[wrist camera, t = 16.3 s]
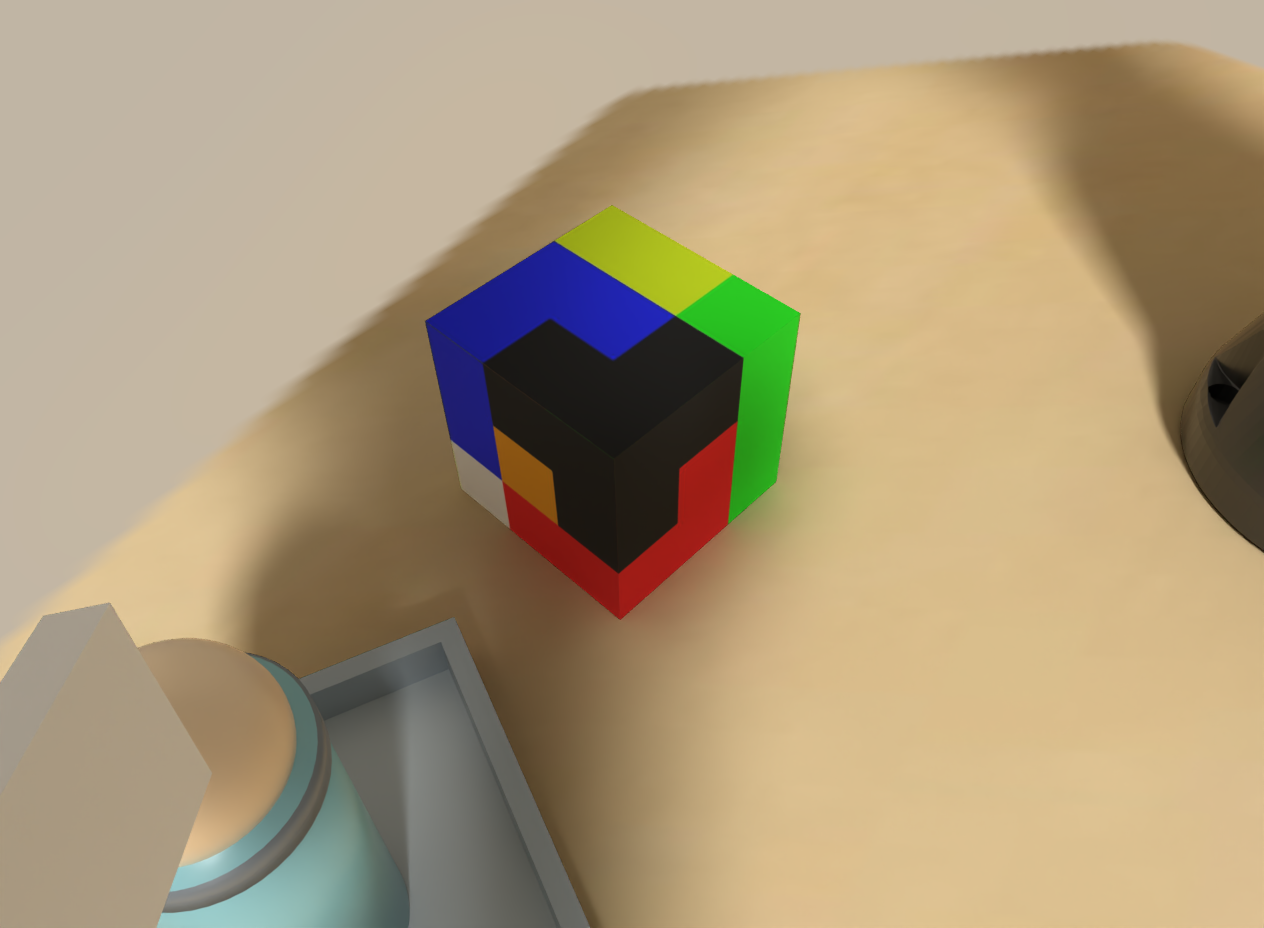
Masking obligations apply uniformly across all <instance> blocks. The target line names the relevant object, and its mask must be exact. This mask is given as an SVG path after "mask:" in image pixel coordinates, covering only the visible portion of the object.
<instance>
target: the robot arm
mask: <svg viewBox="0 0 1264 928" xmlns="http://www.w3.org/2000/svg"><path fill="white" fill-rule="evenodd" d="M1181 441H1182V446H1183V451H1184V454H1185V457H1186V460H1187V462H1188V465H1189V467H1190V470H1191V472H1192V474H1193V476H1194V478H1195V479H1196V481H1197V483H1198V484H1199V486H1200V488H1201V489H1202V491H1203V492H1204V493H1205V495H1206V496H1207V498H1208V499H1209V500H1210V501H1211V503H1212V504H1213V505H1214V506H1215V508H1216V509H1217V510H1218V511H1219V512H1220V513H1221V514H1222V515H1223V516H1224V517H1225V518H1226V519H1227V520H1228V521H1229V522H1230V523H1231V524H1232V525H1233V526H1234V527H1235V528H1236V529H1237V530H1238V531H1239V532H1241V533H1242V534H1243V535H1244V536H1245V537H1246V538H1248V539H1249V540H1250V541H1252V542H1253V543H1254V544H1255V545H1257V546H1258V547H1259V548H1261V549H1262V550H1264V313H1263V314H1261V315H1260V316H1259V317H1258V318H1256V319H1255V320H1254V321H1253V322H1251V323H1250V324H1249V325H1248V326H1247V327H1245V328H1244V329H1243V330H1242V331H1240V332H1239V333H1238V334H1237V335H1235V336H1234V337H1233V338H1232V339H1231V340H1229V341H1228V342H1227V343H1226V344H1225V345H1223V346H1222V347H1221V348H1220V349H1219V350H1218V351H1217V352H1216V354H1215V355H1214V356H1213V357H1212V358H1211V359H1210V361H1209V362H1208V364H1207V365H1206V366H1205V368H1204V370H1203V372H1202V373H1201V375H1200V377H1199V379H1198V381H1197V382H1196V384H1195V386H1194V388H1193V390H1192V391H1191V393H1190V395H1189V397H1188V399H1187V401H1186V403H1185V406H1184V409H1183V412H1182V417H1181ZM211 775H212V772H211V770H210V769H209V767H208V765H207V764H206V762H205V760H204V759H203V757H202V755H201V754H200V752H199V750H198V749H197V747H196V745H195V744H194V742H193V740H192V739H191V737H190V735H189V734H188V732H187V730H186V729H185V727H184V725H183V724H182V722H181V720H180V719H179V717H178V715H177V714H176V712H175V710H174V709H173V707H172V705H171V704H170V702H169V700H168V699H167V697H166V695H165V694H164V692H163V690H162V689H161V687H160V685H159V684H158V682H157V680H156V679H155V677H154V675H153V674H152V672H151V670H150V669H149V667H148V665H147V663H146V662H145V660H144V658H143V657H142V655H141V653H140V652H139V650H138V648H137V647H136V645H135V643H134V642H133V640H132V638H131V637H130V635H129V633H128V632H127V630H126V628H125V627H124V625H123V623H122V622H121V620H120V618H119V617H118V615H117V613H116V612H115V610H114V608H113V607H112V605H111V603H106V604H101V605H96V606H91V607H86V608H81V609H76V610H71V611H66V612H60V613H55V614H50V615H45V616H43V617H42V619H41V620H40V622H39V623H38V625H37V626H36V628H35V629H34V631H33V633H32V634H31V636H30V637H29V639H28V640H27V642H26V643H25V645H24V647H23V648H22V650H21V651H20V653H19V654H18V656H17V657H16V659H15V661H14V662H13V664H12V665H11V667H10V668H9V670H8V671H7V673H6V675H5V676H4V678H3V679H2V681H1V682H0V928H156V927H157V925H158V922H159V919H160V916H161V914H162V911H163V908H164V905H165V903H166V900H167V897H168V894H169V891H170V889H171V886H172V883H173V880H174V878H175V875H176V872H177V869H178V867H179V864H180V861H181V858H182V855H183V853H184V850H185V847H186V844H187V842H188V839H189V836H190V833H191V830H192V828H193V825H194V822H195V819H196V817H197V814H198V811H199V808H200V806H201V803H202V800H203V797H204V794H205V792H206V789H207V786H208V783H209V781H210V778H211Z"/></svg>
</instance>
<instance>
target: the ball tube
mask: <svg viewBox="0 0 1264 928" xmlns="http://www.w3.org/2000/svg"><path fill="white" fill-rule="evenodd" d="M138 650H139V652H140V653H141V655H142V657H143V658H144V660H145V662H146V663H147V665H148V667H149V669H150V670H151V672H152V674H153V675H154V677H155V679H156V680H157V682H158V684H159V685H160V687H161V689H162V690H163V692H164V694H165V695H166V697H167V699H168V700H169V702H170V704H171V705H172V707H173V709H174V710H175V712H176V714H177V715H178V717H179V719H180V720H181V722H182V724H183V725H184V727H185V729H186V730H187V732H188V734H189V735H190V737H191V739H192V740H193V742H194V744H195V745H196V747H197V749H198V750H199V752H200V754H201V755H202V757H203V759H204V760H205V762H206V764H207V765H208V767H209V769H210V770H211V772H212V775H211V778H210V781H209V783H208V786H207V789H206V792H205V794H204V797H203V800H202V803H201V806H200V808H199V811H198V814H197V817H196V819H195V822H194V825H193V828H192V830H191V833H190V836H189V839H188V842H187V844H186V847H185V850H184V853H183V855H182V858H181V861H180V864H179V867H178V869H177V872H176V875H175V878H174V880H173V883H172V886H171V889H170V891H169V894H168V897H167V900H166V903H165V905H164V908H163V911H162V914H161V916H160V919H159V922H158V925H157V927H156V928H408V925H409V898H408V893H407V889H406V885H405V882H404V880H403V877H402V875H401V873H400V871H399V869H398V867H397V865H396V864H395V862H394V860H393V858H392V856H391V854H390V852H389V850H388V849H387V847H386V845H385V843H384V841H383V839H382V837H381V835H380V834H379V832H378V830H377V828H376V826H375V824H374V822H373V820H372V819H371V817H370V815H369V813H368V811H367V809H366V807H365V805H364V804H363V802H362V800H361V798H360V796H359V794H358V792H357V790H356V789H355V787H354V785H353V783H352V781H351V779H350V777H349V775H348V774H347V772H346V770H345V768H344V766H343V764H342V762H341V760H340V758H339V757H338V755H337V753H336V751H335V749H334V747H333V745H332V743H331V742H330V738H329V733H328V730H327V728H326V725H325V722H324V720H323V718H322V716H321V714H320V712H319V710H318V708H317V706H316V704H315V702H314V701H313V699H312V697H311V695H310V694H309V692H308V690H307V689H306V687H305V686H304V685H303V684H302V683H301V681H300V680H299V679H298V678H297V677H296V676H295V675H294V674H292V673H291V672H290V671H289V670H288V669H286V668H284V667H283V666H281V665H280V664H278V663H276V662H274V661H272V660H269V659H267V658H265V657H262V656H258V655H254V654H251V653H245V652H242V651H240V650H238V649H236V648H234V647H231V646H229V645H227V644H223V643H219V642H216V641H211V640H205V639H197V638H181V639H171V640H163V641H159V642H154V643H151V644H147V645H144V646H141V647H139V648H138Z"/></svg>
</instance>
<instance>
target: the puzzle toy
mask: <svg viewBox="0 0 1264 928" xmlns="http://www.w3.org/2000/svg"><path fill="white" fill-rule="evenodd" d="M800 314H801V313H799V312H797V311H796V310H794V309H792V308H790V307H789V306H787V305H785V304H783V303H782V302H780V301H778V300H776V299H775V298H773V297H771V296H769V295H768V294H766V293H764V292H762V291H761V290H759V289H757V288H755V287H754V286H752V285H750V284H749V283H747V282H745V281H743V280H742V279H740V278H738V277H736V276H735V275H733V274H731V273H729V272H728V271H726V270H724V269H722V268H721V267H719V266H717V265H715V264H714V263H712V262H710V261H708V260H707V259H705V258H703V257H701V256H700V255H698V254H696V253H695V252H693V251H691V250H689V249H688V248H686V247H684V246H682V245H681V244H679V243H677V242H675V241H674V240H672V239H670V238H668V237H667V236H665V235H663V234H661V233H660V232H658V231H656V230H654V229H653V228H651V227H649V226H648V225H646V224H644V223H642V222H641V221H639V220H637V219H635V218H634V217H632V216H630V215H628V214H627V213H625V212H623V211H621V210H620V209H618V208H616V207H614V206H613V205H611V206H610V207H608V208H606V209H605V210H603V211H602V212H600V213H598V214H597V215H595V216H594V217H592V218H590V219H589V220H587V221H586V222H584V223H582V224H581V225H579V226H577V227H576V228H574V229H573V230H571V231H569V232H568V233H566V234H565V235H563V236H561V237H560V238H558V239H557V240H555V241H553V242H552V243H550V244H548V245H547V246H545V247H544V248H542V249H540V250H539V251H537V252H536V253H534V254H532V255H531V256H529V257H528V258H526V259H524V260H523V261H521V262H519V263H518V264H516V265H515V266H513V267H511V268H510V269H508V270H507V271H505V272H503V273H502V274H500V275H499V276H497V277H495V278H494V279H492V280H491V281H489V282H487V283H486V284H484V285H482V286H481V287H479V288H478V289H476V290H474V291H473V292H471V293H470V294H468V295H466V296H465V297H463V298H462V299H460V300H458V301H457V302H455V303H453V304H452V305H450V306H449V307H447V308H445V309H444V310H442V311H441V312H439V313H437V314H436V315H434V316H433V317H431V318H429V319H428V320H426V321H425V323H426V328H427V333H428V337H429V342H430V347H431V351H432V356H433V361H434V365H435V370H436V375H437V379H438V384H439V389H440V393H441V398H442V403H443V407H444V412H445V417H446V421H447V426H448V431H449V435H450V440H451V445H452V449H453V454H454V459H455V463H456V468H457V473H458V477H459V482H460V487H461V489H462V490H463V491H465V492H466V493H467V494H468V495H469V496H471V497H472V498H473V499H474V500H475V501H477V502H478V503H479V504H480V505H482V506H483V507H484V508H485V509H486V510H488V511H489V512H490V513H491V514H492V515H494V516H495V517H496V518H497V519H498V520H500V521H501V522H502V523H503V524H505V525H506V526H507V527H508V528H509V529H511V530H512V531H513V532H514V533H515V534H517V535H518V536H519V537H520V538H522V539H523V540H524V541H525V542H526V543H528V544H529V545H530V546H531V547H532V548H534V549H535V550H536V551H537V552H538V553H540V554H541V555H542V556H543V557H545V558H546V559H547V560H548V561H549V562H551V563H552V564H553V565H554V566H555V567H557V568H558V569H559V570H560V571H562V572H563V573H564V574H565V575H566V576H568V577H569V578H570V579H571V580H572V581H574V582H575V583H576V584H577V585H578V586H580V587H581V588H582V589H583V590H585V591H586V592H587V593H588V594H589V595H591V596H592V597H593V598H594V599H595V600H597V601H598V602H599V603H600V604H602V605H603V606H604V607H605V608H606V609H608V610H609V611H610V612H611V613H612V614H614V615H615V616H616V617H617V618H618V619H620V620H621V619H622V618H623V617H624V616H625V615H626V614H627V613H628V612H630V611H631V610H632V609H633V608H634V607H635V606H636V605H638V604H639V603H640V602H641V601H642V600H643V599H644V598H645V597H647V596H648V595H649V594H650V593H651V592H652V591H653V590H654V589H656V588H657V587H658V586H659V585H660V584H661V583H662V582H663V581H665V580H666V579H667V578H668V577H669V576H670V575H671V574H673V573H674V572H675V571H676V570H677V569H678V568H679V567H680V566H682V565H683V564H684V563H685V562H686V561H687V560H688V559H689V558H691V557H692V556H693V555H694V554H695V553H696V552H697V551H698V550H700V549H701V548H702V547H703V546H704V545H705V544H706V543H708V542H709V541H710V540H711V539H712V538H713V537H714V536H715V535H717V534H718V533H719V532H720V531H721V530H722V529H723V528H724V527H726V526H727V525H728V524H729V523H730V522H731V521H732V520H733V519H735V518H736V517H737V516H738V515H739V514H740V513H741V512H743V511H744V510H745V509H746V508H747V507H748V506H749V505H750V504H752V503H753V502H754V501H755V500H756V499H757V498H758V497H759V496H761V495H762V494H763V493H764V492H765V491H766V490H767V489H769V488H770V487H771V486H772V485H773V484H774V483H775V482H776V480H777V473H778V466H779V459H780V452H781V445H782V438H783V431H784V424H785V418H786V411H787V404H788V397H789V390H790V383H791V376H792V369H793V362H794V355H795V348H796V341H797V335H798V328H799V321H800Z"/></svg>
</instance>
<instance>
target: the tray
mask: <svg viewBox="0 0 1264 928" xmlns="http://www.w3.org/2000/svg"><path fill="white" fill-rule="evenodd" d="M299 680H300V681H301V683H302V684H303V685H304V686H305V687H306V689H307V690H308V692H309V694H310V695H311V697H312V699H313V701H314V702H315V704H316V706H317V708H318V710H319V712H320V714H321V716H322V718H323V720H324V722H325V725H326V728H327V730H328V733H329V738H330V742H331V743H332V745H333V747H334V749H335V751H336V753H337V755H338V757H339V758H340V760H341V762H342V764H343V766H344V768H345V770H346V772H347V774H348V775H349V777H350V779H351V781H352V783H353V785H354V787H355V789H356V790H357V792H358V794H359V796H360V798H361V800H362V802H363V804H364V805H365V807H366V809H367V811H368V813H369V815H370V817H371V819H372V820H373V822H374V824H375V826H376V828H377V830H378V832H379V834H380V835H381V837H382V839H383V841H384V843H385V845H386V847H387V849H388V850H389V852H390V854H391V856H392V858H393V860H394V862H395V864H396V865H397V867H398V869H399V871H400V873H401V875H402V877H403V880H404V882H405V885H406V889H407V893H408V898H409V925H408V928H590V926H589V923H588V921H587V919H586V917H585V914H584V912H583V910H582V907H581V905H580V903H579V901H578V898H577V896H576V894H575V891H574V889H573V887H572V885H571V882H570V880H569V878H568V875H567V873H566V871H565V869H564V866H563V864H562V862H561V859H560V857H559V855H558V853H557V850H556V848H555V846H554V843H553V841H552V839H551V837H550V834H549V832H548V830H547V828H546V825H545V823H544V821H543V818H542V816H541V814H540V812H539V809H538V807H537V805H536V802H535V800H534V798H533V796H532V793H531V791H530V789H529V786H528V784H527V782H526V780H525V777H524V775H523V773H522V770H521V768H520V766H519V764H518V761H517V759H516V757H515V754H514V752H513V750H512V748H511V745H510V743H509V741H508V739H507V736H506V734H505V732H504V729H503V727H502V725H501V723H500V720H499V718H498V716H497V713H496V711H495V709H494V707H493V704H492V702H491V700H490V697H489V695H488V693H487V691H486V688H485V686H484V684H483V681H482V679H481V677H480V675H479V672H478V670H477V668H476V665H475V663H474V661H473V659H472V656H471V654H470V652H469V650H468V647H467V645H466V643H465V640H464V638H463V636H462V634H461V631H460V629H459V627H458V624H457V622H456V620H455V618H454V617H453V618H450V619H448V620H445V621H443V622H440V623H438V624H435V625H433V626H430V627H428V628H425V629H423V630H420V631H418V632H415V633H413V634H410V635H408V636H405V637H403V638H400V639H398V640H395V641H393V642H390V643H388V644H385V645H383V646H380V647H378V648H375V649H373V650H370V651H368V652H365V653H362V654H360V655H357V656H355V657H352V658H350V659H347V660H345V661H342V662H340V663H337V664H335V665H332V666H330V667H327V668H325V669H322V670H320V671H317V672H315V673H312V674H310V675H307V676H305V677H302V678H300V679H299Z"/></svg>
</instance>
